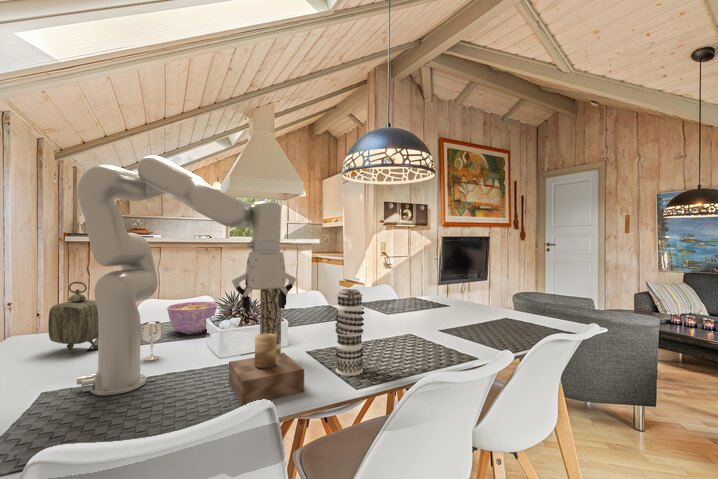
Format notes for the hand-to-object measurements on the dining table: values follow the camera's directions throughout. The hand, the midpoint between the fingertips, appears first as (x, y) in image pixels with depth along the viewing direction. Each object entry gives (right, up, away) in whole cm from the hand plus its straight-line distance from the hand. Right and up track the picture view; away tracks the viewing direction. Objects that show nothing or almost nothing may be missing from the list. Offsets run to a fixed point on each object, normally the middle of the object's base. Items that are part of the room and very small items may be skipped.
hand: (264, 309), depth 96 cm
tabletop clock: (-76, -21, +30) cm, 84 cm away
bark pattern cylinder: (-4, -22, +22) cm, 31 cm away
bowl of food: (-47, -22, +57) cm, 77 cm away
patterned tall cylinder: (+23, -22, +13) cm, 34 cm away
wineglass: (-44, -21, +23) cm, 54 cm away
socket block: (0, -21, 0) cm, 21 cm away
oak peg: (0, -21, 0) cm, 21 cm away
